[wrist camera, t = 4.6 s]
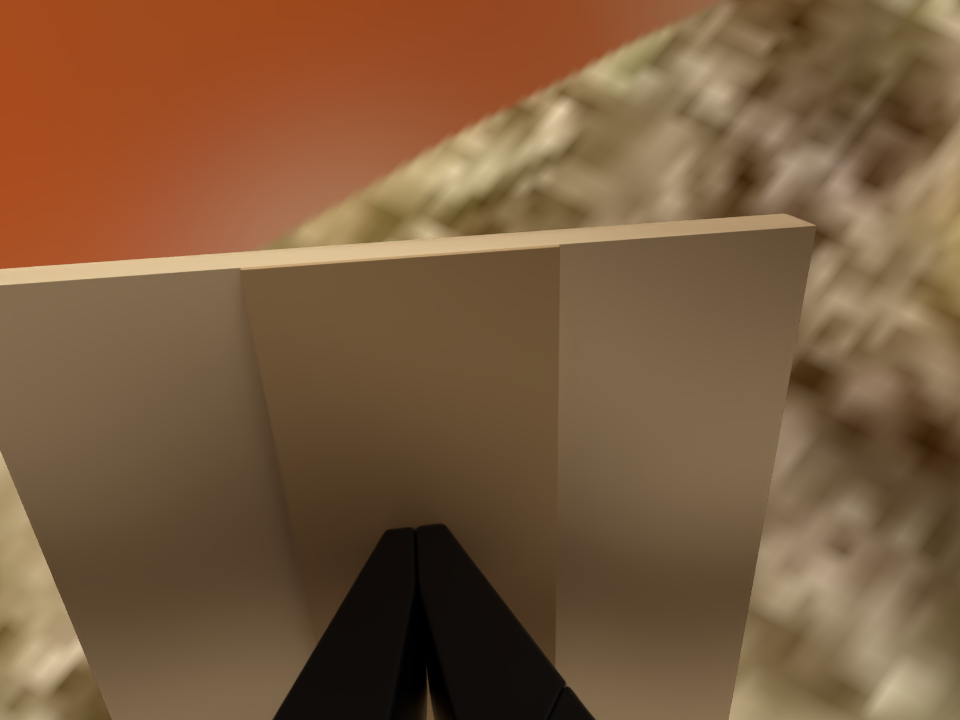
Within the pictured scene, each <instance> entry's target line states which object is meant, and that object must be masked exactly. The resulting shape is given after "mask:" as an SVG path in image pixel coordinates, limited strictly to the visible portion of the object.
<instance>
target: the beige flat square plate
mask: <svg viewBox="0 0 960 720" xmlns="http://www.w3.org/2000/svg"><path fill="white" fill-rule="evenodd" d="M815 232H816V225H813V224H811V223H808V222H806V221H803V220H800V219H798V218H795V217H792V216H790V215H787V214H773V215H759V216H745V217H731V218H716V219H702V220H688V221H674V222H660V223H646V224H632V225H618V226H603V227H589V228H575V229H561V230H547V231H533V232H519V233H504V234H490V235H476V236H462V237H448V238H434V239H420V240H406V241H391V242H377V243H363V244H349V245H335V246H321V247H307V248H293V249H278V250H264V251H250V252H236V253H222V254H209V255H195V256H180V257H165V258H151V259H139V260H138V259H137V260H123V261H111V262H95V263H81V264H68V265H67V264H66V265H52V266H38V267H24V268H10V269H0V451H1V453H2V455H3V458H4V460H5V463H6V465H7V467H8V470H9V472H10V475H11V477H12V479H13V482H14V484H15V487H16V489H17V492H18V494H19V496H20V499H21V501H22V504H23V506H24V508H25V511H26V513H27V516H28V518H29V521H30V523H31V525H32V528H33V530H34V533H35V535H36V537H37V540H38V542H39V545H40V547H41V549H42V552H43V554H44V557H45V559H46V562H47V564H48V566H49V569H50V571H51V574H52V576H53V578H54V581H55V583H56V586H57V588H58V591H59V593H60V595H61V598H62V600H63V603H64V605H65V607H66V610H67V612H68V615H69V617H70V620H71V622H72V624H73V627H74V629H75V632H76V634H77V636H78V639H79V641H80V644H81V646H82V648H83V651H84V653H85V656H86V658H87V661H88V663H89V665H90V668H91V670H92V673H93V675H94V677H95V680H96V682H97V685H98V687H99V690H100V692H101V694H102V697H103V699H104V702H105V704H106V706H107V709H108V711H109V714H110V716H111V718H112V720H272V719H273V718H274V716H275V714H276V713H277V711H278V709H279V707H280V706H281V704H282V702H283V701H284V699H285V697H286V696H287V694H288V692H289V691H290V689H291V687H292V686H293V684H294V682H295V681H296V679H297V677H298V676H299V674H300V672H301V671H302V669H303V667H304V665H305V664H306V662H307V660H308V659H309V657H310V655H311V654H312V652H313V650H314V649H315V647H316V645H317V644H318V642H319V640H320V639H321V637H322V635H323V634H324V632H325V630H326V629H327V627H328V625H329V624H330V622H331V620H332V618H333V617H334V615H335V613H336V612H337V610H338V608H339V607H340V605H341V603H342V602H343V600H344V598H345V597H346V595H347V593H348V592H349V590H350V588H351V587H352V585H353V583H354V582H355V580H356V578H357V577H358V575H359V573H360V571H361V570H362V568H363V566H364V565H365V563H366V561H367V560H368V558H369V556H370V555H371V553H372V551H373V550H374V548H375V546H376V545H377V543H378V541H379V540H380V538H381V536H382V535H383V533H384V532H385V531H386V530H388V529H394V528H403V527H412V528H414V530H415V533H416V528H417V527H418V526H421V525H430V524H439V523H442V524H445V525H446V526H447V527H448V528H449V530H450V531H451V532H452V534H453V535H454V536H455V538H456V539H457V540H458V542H459V543H460V544H461V545H462V547H463V548H464V549H465V551H466V552H467V553H468V555H469V556H470V557H471V559H472V560H473V561H474V562H475V564H476V565H477V566H478V568H479V569H480V570H481V572H482V573H483V574H484V576H485V577H486V578H487V579H488V581H489V582H490V583H491V585H492V586H493V587H494V589H495V590H496V591H497V592H498V594H499V595H500V596H501V598H502V599H503V600H504V602H505V603H506V604H507V606H508V607H509V608H510V609H511V611H512V612H513V613H514V615H515V616H516V617H517V619H518V620H519V621H520V623H521V624H522V625H523V626H524V628H525V629H526V630H527V632H528V633H529V634H530V636H531V637H532V638H533V640H534V641H535V642H536V643H537V645H538V646H539V647H540V649H541V650H542V651H543V653H544V654H545V655H546V656H547V658H548V659H549V660H550V662H551V663H552V664H553V666H554V667H555V668H556V670H557V671H558V672H559V673H560V675H561V676H562V677H563V679H564V680H565V681H566V684H567V686H569V687H570V688H571V689H572V690H573V691H574V693H575V694H576V695H577V697H578V698H579V699H580V700H581V702H582V703H583V704H584V706H585V707H586V708H587V710H588V711H589V712H590V713H591V714H592V716H593V717H594V718H595V719H596V720H728V719H729V714H730V708H731V703H732V697H733V691H734V686H735V680H736V675H737V669H738V663H739V658H740V652H741V647H742V641H743V635H744V630H745V624H746V618H747V613H748V607H749V602H750V596H751V590H752V585H753V579H754V574H755V568H756V562H757V557H758V551H759V546H760V540H761V534H762V529H763V523H764V518H765V512H766V506H767V501H768V495H769V490H770V484H771V478H772V473H773V467H774V462H775V456H776V450H777V445H778V439H779V434H780V428H781V422H782V417H783V411H784V405H785V400H786V394H787V389H788V383H789V377H790V372H791V366H792V361H793V355H794V349H795V344H796V338H797V333H798V327H799V321H800V316H801V310H802V305H803V299H804V293H805V288H806V282H807V277H808V271H809V265H810V260H811V254H812V249H813V243H814V237H815ZM426 668H427V667H426ZM427 689H428V692H427V720H434V716H433V711H432V705H431V699H430V693H429V685H428V676H427Z"/></svg>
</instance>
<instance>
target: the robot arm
mask: <svg viewBox="0 0 960 720" xmlns="http://www.w3.org/2000/svg"><path fill="white" fill-rule="evenodd" d="M426 667H427V668H426ZM427 676H428V685H429V693H430V699H431V705H432V711H433V716H434V720H596V719H595V718H594V717H593V716H592V714H591V713H590V712H589V711H588V710H587V708H586V707H585V706H584V704H583V703H582V702H581V700H580V699H579V698H578V697H577V695H576V694H575V693H574V691H573V690H572V689H571V688H570V687H569V686H567V684H566V681H565V680H564V679H563V677H562V676H561V675H560V673H559V672H558V671H557V670H556V668H555V667H554V666H553V664H552V663H551V662H550V660H549V659H548V658H547V656H546V655H545V654H544V653H543V651H542V650H541V649H540V647H539V646H538V645H537V643H536V642H535V641H534V640H533V638H532V637H531V636H530V634H529V633H528V632H527V630H526V629H525V628H524V626H523V625H522V624H521V623H520V621H519V620H518V619H517V617H516V616H515V615H514V613H513V612H512V611H511V609H510V608H509V607H508V606H507V604H506V603H505V602H504V600H503V599H502V598H501V596H500V595H499V594H498V592H497V591H496V590H495V589H494V587H493V586H492V585H491V583H490V582H489V581H488V579H487V578H486V577H485V576H484V574H483V573H482V572H481V570H480V569H479V568H478V566H477V565H476V564H475V562H474V561H473V560H472V559H471V557H470V556H469V555H468V553H467V552H466V551H465V549H464V548H463V547H462V545H461V544H460V543H459V542H458V540H457V539H456V538H455V536H454V535H453V534H452V532H451V531H450V530H449V528H448V527H447V526H446V525H445V524H442V523H439V524H430V525H421V526H418V527H417V528H416V533H415V530H414V528H412V527H403V528H394V529H388V530H386V531H385V532H384V533H383V535H382V536H381V538H380V540H379V541H378V543H377V545H376V546H375V548H374V550H373V551H372V553H371V555H370V556H369V558H368V560H367V561H366V563H365V565H364V566H363V568H362V570H361V571H360V573H359V575H358V577H357V578H356V580H355V582H354V583H353V585H352V587H351V588H350V590H349V592H348V593H347V595H346V597H345V598H344V600H343V602H342V603H341V605H340V607H339V608H338V610H337V612H336V613H335V615H334V617H333V618H332V620H331V622H330V624H329V625H328V627H327V629H326V630H325V632H324V634H323V635H322V637H321V639H320V640H319V642H318V644H317V645H316V647H315V649H314V650H313V652H312V654H311V655H310V657H309V659H308V660H307V662H306V664H305V665H304V667H303V669H302V671H301V672H300V674H299V676H298V677H297V679H296V681H295V682H294V684H293V686H292V687H291V689H290V691H289V692H288V694H287V696H286V697H285V699H284V701H283V702H282V704H281V706H280V707H279V709H278V711H277V713H276V714H275V716H274V718H273V719H272V720H427V692H428V689H427Z"/></svg>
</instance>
